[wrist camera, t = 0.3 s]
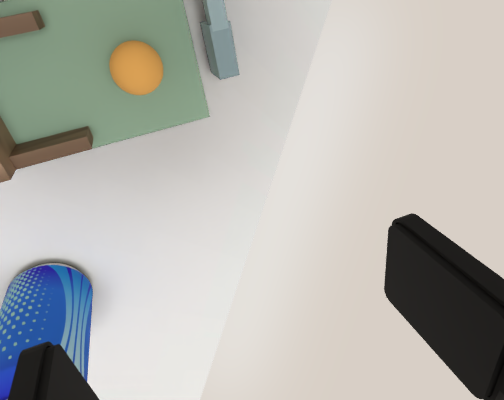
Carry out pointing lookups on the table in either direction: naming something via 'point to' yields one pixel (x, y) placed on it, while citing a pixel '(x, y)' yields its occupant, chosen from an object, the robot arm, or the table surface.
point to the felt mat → (96, 70)
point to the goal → (44, 149)
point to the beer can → (45, 317)
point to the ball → (136, 67)
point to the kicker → (219, 40)
